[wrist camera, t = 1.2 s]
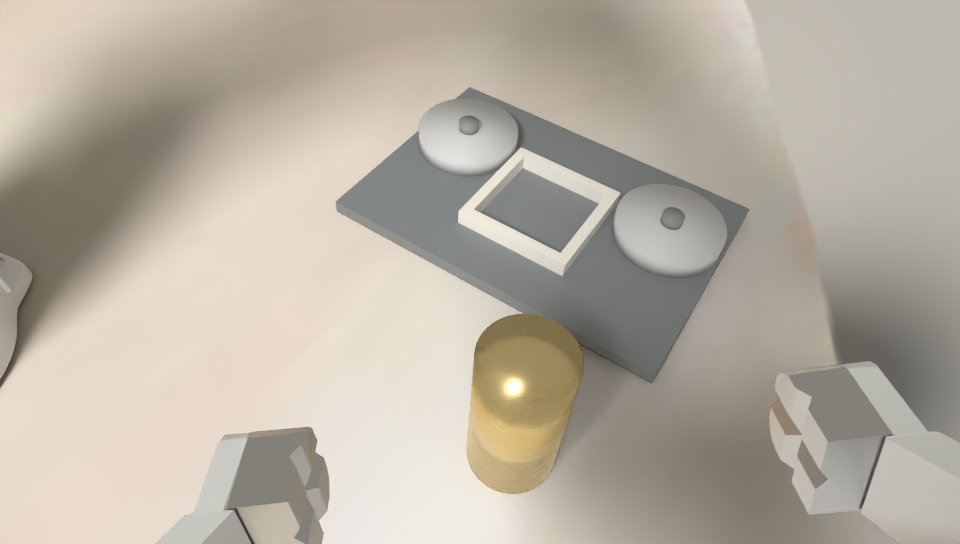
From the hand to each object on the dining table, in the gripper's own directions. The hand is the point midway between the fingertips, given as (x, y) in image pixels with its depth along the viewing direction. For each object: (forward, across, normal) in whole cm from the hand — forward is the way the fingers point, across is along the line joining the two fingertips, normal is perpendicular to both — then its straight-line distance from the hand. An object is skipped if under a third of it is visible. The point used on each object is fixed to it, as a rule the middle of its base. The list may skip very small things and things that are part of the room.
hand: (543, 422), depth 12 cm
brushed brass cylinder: (+18, +1, +22) cm, 29 cm away
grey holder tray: (+37, -3, +18) cm, 41 cm away
